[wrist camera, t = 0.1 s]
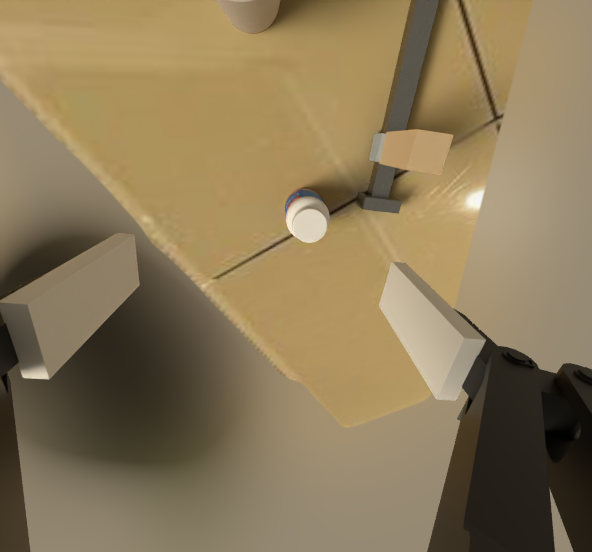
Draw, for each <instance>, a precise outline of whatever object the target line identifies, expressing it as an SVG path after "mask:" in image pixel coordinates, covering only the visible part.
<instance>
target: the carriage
mask: <svg viewBox="0 0 592 552" xmlns="http://www.w3.org/2000/svg"><path fill="white" fill-rule="evenodd" d="M453 136H454V135H452V134H445V133H439V132H432V131H426V130H419V129H415V130H403V131H391V132H386V134H385V133H378V134H374V139H373V143H372V148H371V153H370V157H369V160H371V161H375V162H379V164H382V165H386V166H391V167H395V168H400V169H404V170H410V171H417V172H424V173H432V174H439V175H441V173H442V170H443V167H444V164H445V161H446V158H447V154H448V151H449V148H450V145H451V142H452V139H453Z"/></svg>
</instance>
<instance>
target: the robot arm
mask: <svg viewBox="0 0 592 552" xmlns="http://www.w3.org/2000/svg"><path fill="white" fill-rule="evenodd" d="M138 286H139V276H138V266H137V256H136V247H135V238H134V235H132V234H123V233H117V234H115V235H113V236H111V237H110V238H108V239H107V240H104V241H103V242H101V243H99V244H97V245H96V246H94V247H92V248H91V249H89V250H87V251H85V252H84V253H82V254H80V255H78V256H77V257H75V258H73V259H72V260H70V261H68V262H66V263H64V264H63V265H61V266H59V267H58V268H56V269H54V270H52V271H50V272H49V273H47V274H44V275H41V276H38V277H35V278H32V279H30V280H28V281H26V282H24V283H23V284H21V285H20V286H19V287H15V288H14V289H12V290H10V291H9V292H7V293H5V294H3V295H1V296H0V552H30V545H29V537H28V528H27V519H26V511H25V503H24V494H23V485H22V476H21V468H20V459H19V451H18V442H17V434H16V425H15V417H14V408H13V400H12V391H11V383H10V379H9V376H8V373H7V372H8V371H9V370H10V369H12V368H13V367H14V366H15V365H16V364H17V363H18V365H19V368H20V371H21V374H22V376H23V378H35V379H50V378H51V377H52V376H53V375H54V374H55V373H56V372H57V371H58V370H59V369H60V368H61V366H62V365H63V364H64V363H65V362H66V361H67V360H68V359H69V358H70V357H71V356H72V355H73V354H74V353H75V352H76V351H77V350H78V349H79V348H80V347H81V346H82V345H83V343H84V342H85V341H86V340H87V339H88V338H89V337H90V336H91V335H92V334H93V333H94V332H95V331H96V330H97V329H98V328H99V327H100V326H101V325H102V324H103V323H104V322H105V321H106V320H107V318H108V317H109V316H110V315H111V314H112V313H113V312H114V311H115V310H116V309H117V308H118V307H119V306H120V305H121V304H122V303H123V302H124V301H125V300H126V299H127V297H128V296H129V295H130V294H131V293H132V292H133V291H134V290H135V289H136V288H137V287H138ZM379 307H380V308H381V310H382V312H383V313H384V315H385V317H386V318H387V320H388V321H389V323H390V325H391V326H392V328H393V330H394V331H395V333H396V334H397V336H398V338H399V339H400V341H401V342H402V344H403V346H404V347H405V349H406V351H407V352H408V354H409V355H410V357H411V359H412V360H413V362H414V364H415V365H416V367H417V368H418V370H419V372H420V373H421V375H422V377H423V378H424V380H425V381H426V383H427V385H428V386H429V388H430V390H431V391H432V393H433V394H434V396H435V398H436V399H437V400H457V397H458V396H459V393H460V391H461V389H462V388H463V389H464V390H465V392H466V393H467V394H468V395H469V397H468V399H467V401H466V403H465V405H464V407H463V408H462V410H461V412H460V415H459V416H458V418H457V419H458V420H460V425H459V429H458V433H457V437H456V441H455V445H454V449H453V453H452V456H451V461H450V464H449V468H448V472H447V476H446V481H445V484H444V488H443V492H442V496H441V500H440V504H439V508H438V512H437V516H436V520H435V524H434V527H433V531H432V535H431V539H430V543H429V547H428V551H427V552H555V548H554V536H553V525H552V513H551V502H550V490H551V492H552V495H553V498H554V500H555V503H556V506H557V508H558V511H559V514H560V516H561V519H562V522H563V524H564V527H565V530H566V532H567V535H568V538H569V540H570V543H571V546H572V548H573V551H574V552H592V370H591V369H589V368H587V367H582V366H579V365H575V364H571V363H568V364H567V363H566V364H563V365H562V367H561V368H560V369H559V371H558V372H557V374H556V373H551V372H548V371H544V370H540V369H539V368H538V365H537V364H536V363H535V362H534V361H533V360H532V359H531V358H529V357H528V356H526V355H525V354H523V353H521V352H519V351H517V350H514V349H511V348H508V347H501V346H497V345H496V344H495V343H494V342H493V341H492V340H491V339H490V338H489V337H487V336H486V335H485V334H484V333H483V332H482V331H481V330H479V329H478V327H476V325H475V324H472V322H471V321H470V320H469V319H468V318H467V317H466V316H465V315H463V314H462V313H460V312H458V311H457V310H455V309H453V308H452V307H451V306H450V305H449V304H448V303H447V302H446V301H445V300H444V299H443V298H441V297H440V296H439V295H438V294H437V293H436V292H435V291H434V290H433V289H432V288H431V287H430V286H429V285H428V284H427V283H426V282H425V281H424V280H423V279H422V278H421V277H419V276H418V275H417V274H416V273H415V272H414V271H413V270H412V269H411V268H410V267H409V266H408V265H407V264H406V263H399V262H392V263H391V267H390V270H389V273H388V277H387V280H386V284H385V287H384V291H383V294H382V298H381V301H380V304H379ZM549 487H550V490H549Z"/></svg>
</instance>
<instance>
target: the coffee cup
mask: <svg viewBox="0 0 592 552" xmlns="http://www.w3.org/2000/svg"><path fill="white" fill-rule="evenodd" d="M216 1H217V3H218V4H219V6H220V7H221V9H222V10H223V12H224V13H225V15H226V16H227V18H228V19H229V21H230V22H231V23H232V24H233V25H234V26H235V27H236V28H238V29H239V30H241V31H243V32H246V33H259V32H262V31H264V30H265V29H267V28H268V27H269V26H270V25H271V24H272V23H273V21H274V20H275V18H276V16H277V13H278V10H279V6H280V1H281V0H216Z"/></svg>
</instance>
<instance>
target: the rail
mask: <svg viewBox="0 0 592 552" xmlns="http://www.w3.org/2000/svg"><path fill="white" fill-rule="evenodd" d="M438 3H439V0H411V3H410V7H409V12H408V16H407V21H406V25H405V30H404V34H403V38H402V43H401V47H400V52H399V56H398V60H397V65H396V69H395V74H394V78H393V83H392V87H391V91H390V96H389V100H388V105H387V109H386V114H385V118H384V122H383V127H382V131H381V133H385V134H386V132H391V131H403V130H406V127H407V124H408V120H409V116H410V112H411V108H412V104H413V100H414V96H415V92H416V89H417V85H418V81H419V77H420V73H421V69H422V65H423V61H424V57H425V54H426V50H427V46H428V42H429V38H430V34H431V30H432V26H433V22H434V19H435V15H436V11H437V7H438ZM395 170H396V168H395V167H391V166H386V165H382V164H379V162H374V167H373V171H372V175H371V180H370V184H369V189H368V193H367V194H366V193H358V198H357V202H356V204H357V205H358V206H359V207H361V208H362V209H365V210H373V211H382V212H390V213H398V214H399V210H400V206H401V203H402V201H400V200H397V199H395V198H393V197H389V194H390V190H391V186H392V182H393V178H394V174H395Z"/></svg>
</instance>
